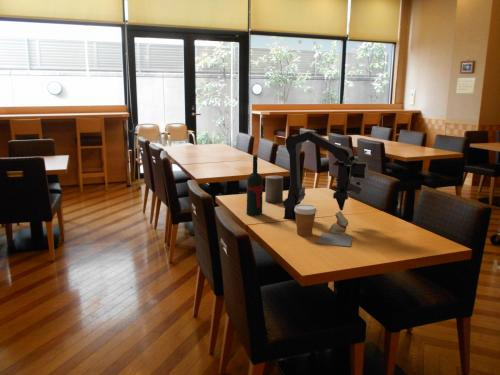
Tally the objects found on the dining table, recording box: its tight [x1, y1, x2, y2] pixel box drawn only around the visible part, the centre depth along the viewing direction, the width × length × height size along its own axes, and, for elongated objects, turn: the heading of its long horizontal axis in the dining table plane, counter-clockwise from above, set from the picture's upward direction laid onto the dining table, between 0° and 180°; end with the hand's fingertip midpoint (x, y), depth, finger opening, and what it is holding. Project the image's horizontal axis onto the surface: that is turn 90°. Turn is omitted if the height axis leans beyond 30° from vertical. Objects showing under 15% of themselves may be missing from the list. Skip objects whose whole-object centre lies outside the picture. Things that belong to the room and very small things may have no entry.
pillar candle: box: [264, 174, 284, 204], centre depth 242 cm, size 10×10×15 cm
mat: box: [316, 232, 353, 248], centre depth 181 cm, size 13×13×1 cm
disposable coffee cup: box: [294, 203, 318, 237], centre depth 187 cm, size 10×10×12 cm
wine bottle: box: [246, 152, 264, 217], centre depth 214 cm, size 8×10×30 cm
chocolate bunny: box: [328, 210, 349, 235], centre depth 190 cm, size 6×8×10 cm
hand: (341, 210), depth 199 cm, fingers closed
